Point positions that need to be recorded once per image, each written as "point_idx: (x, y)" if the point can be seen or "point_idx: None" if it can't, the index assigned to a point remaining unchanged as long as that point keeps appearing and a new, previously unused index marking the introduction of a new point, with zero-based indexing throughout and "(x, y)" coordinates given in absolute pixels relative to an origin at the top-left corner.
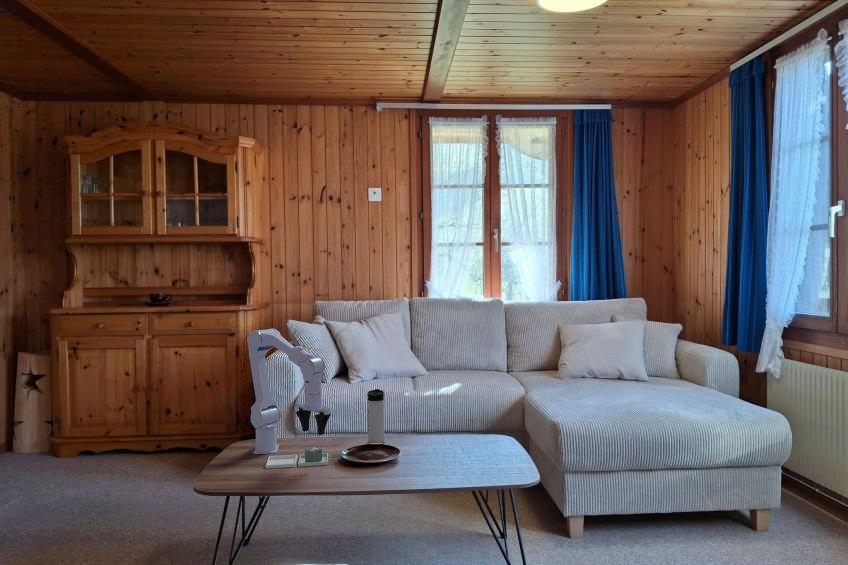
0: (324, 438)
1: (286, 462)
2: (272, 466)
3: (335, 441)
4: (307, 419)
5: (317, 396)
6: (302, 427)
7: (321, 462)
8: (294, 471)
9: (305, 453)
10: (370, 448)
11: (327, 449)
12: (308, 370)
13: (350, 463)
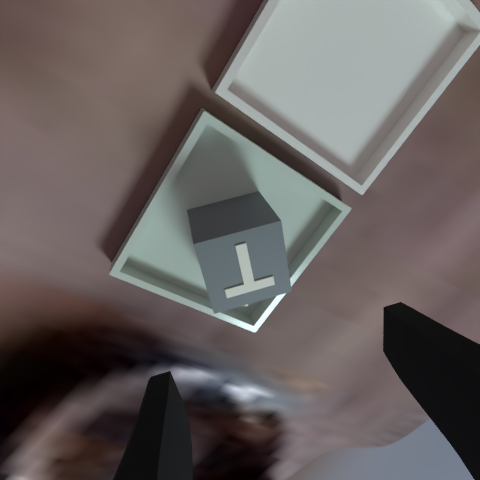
0: None
1: (330, 86)
2: None
3: (394, 406)
4: (474, 449)
5: None
6: (427, 325)
7: (125, 243)
8: (135, 35)
9: (269, 211)
10: (212, 475)
11: (339, 351)
12: None
13: (69, 362)
